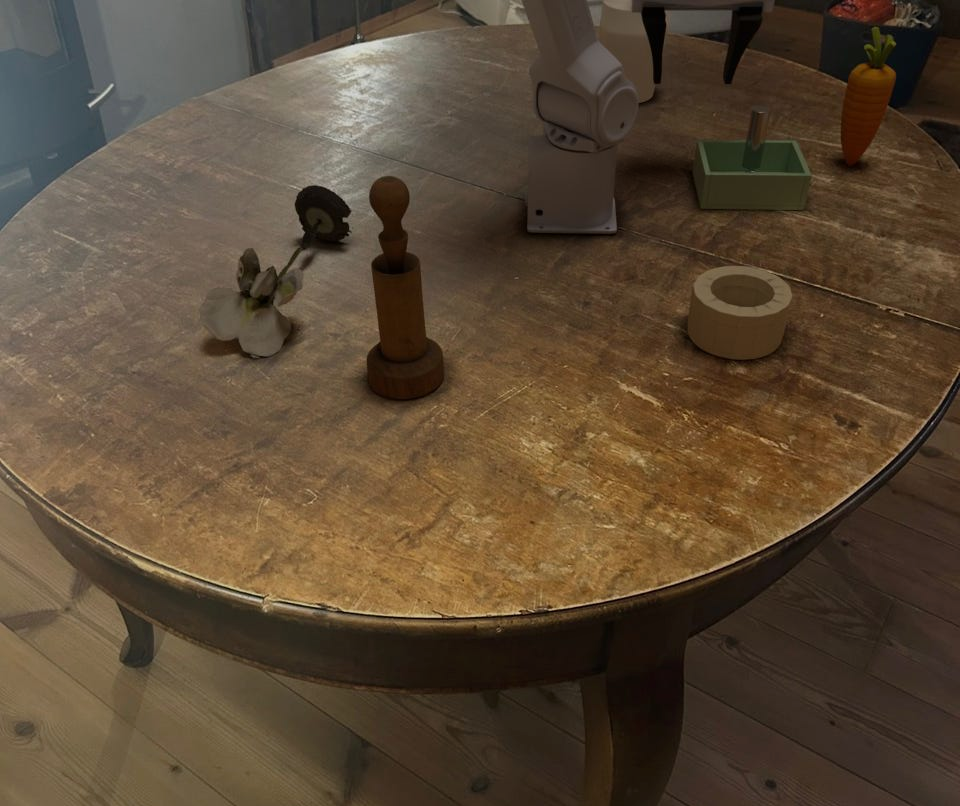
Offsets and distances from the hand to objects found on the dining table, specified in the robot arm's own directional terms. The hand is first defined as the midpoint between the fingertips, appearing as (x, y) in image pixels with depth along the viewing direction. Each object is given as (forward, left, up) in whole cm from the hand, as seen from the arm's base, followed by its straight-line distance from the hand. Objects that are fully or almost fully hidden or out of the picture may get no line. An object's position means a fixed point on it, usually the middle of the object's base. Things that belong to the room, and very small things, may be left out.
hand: (691, 80), depth 102 cm
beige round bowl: (+2, -34, -10) cm, 36 cm away
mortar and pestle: (-27, -42, -11) cm, 51 cm away
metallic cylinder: (+7, -5, -10) cm, 13 cm away
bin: (+7, -5, -10) cm, 13 cm away
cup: (-5, +24, -11) cm, 27 cm away
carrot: (+20, +2, -11) cm, 23 cm away
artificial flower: (-40, -29, -11) cm, 51 cm away
